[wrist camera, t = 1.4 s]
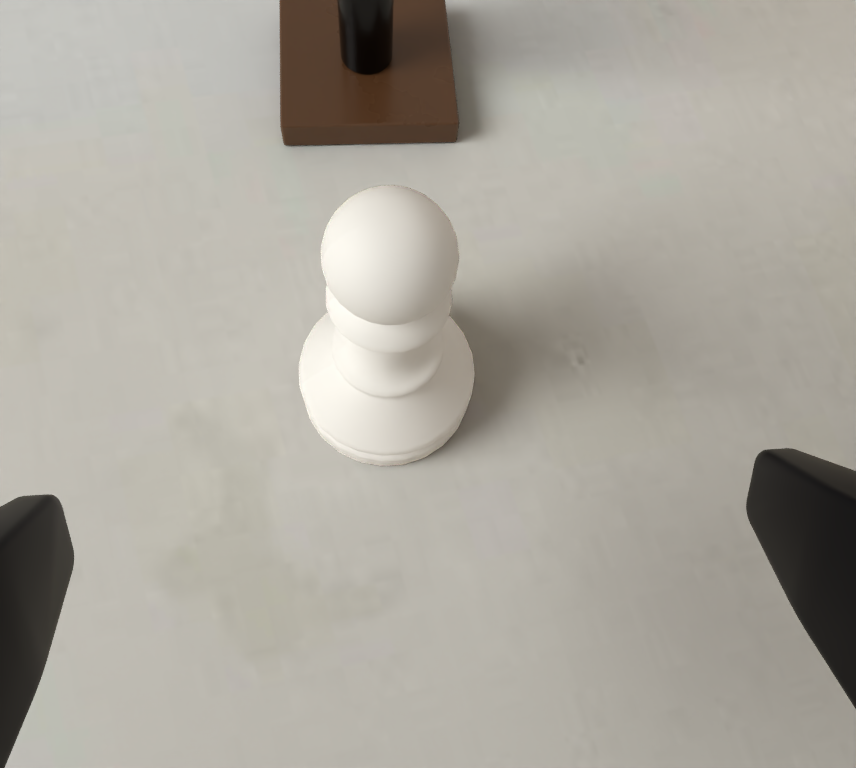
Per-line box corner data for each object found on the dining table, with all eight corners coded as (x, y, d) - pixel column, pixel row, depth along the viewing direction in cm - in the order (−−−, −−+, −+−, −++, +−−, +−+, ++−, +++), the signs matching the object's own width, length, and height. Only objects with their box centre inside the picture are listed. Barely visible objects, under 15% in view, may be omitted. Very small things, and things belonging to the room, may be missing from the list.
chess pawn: (447, 301, 23) (486, 96, 15) (486, 449, 21) (556, 314, 13) (291, 328, 22) (237, 130, 14) (318, 484, 21) (277, 364, 12)
